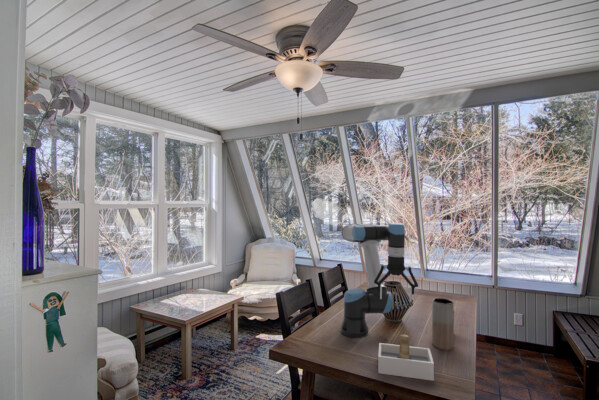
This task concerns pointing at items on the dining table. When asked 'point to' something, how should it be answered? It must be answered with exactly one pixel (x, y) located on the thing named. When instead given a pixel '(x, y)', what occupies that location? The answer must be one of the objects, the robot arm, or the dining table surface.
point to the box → (405, 362)
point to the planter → (443, 323)
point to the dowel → (404, 346)
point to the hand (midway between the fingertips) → (395, 299)
